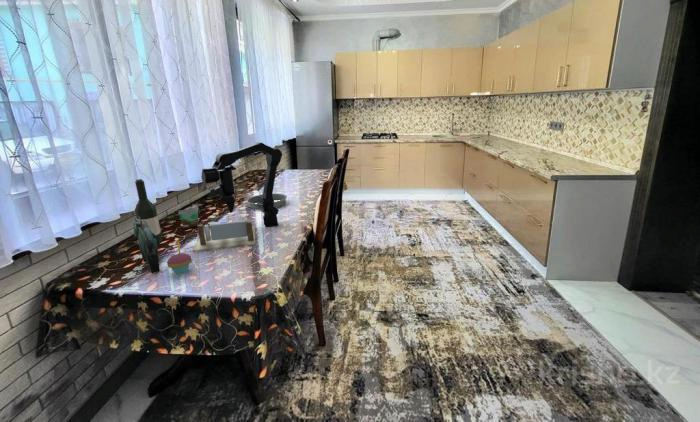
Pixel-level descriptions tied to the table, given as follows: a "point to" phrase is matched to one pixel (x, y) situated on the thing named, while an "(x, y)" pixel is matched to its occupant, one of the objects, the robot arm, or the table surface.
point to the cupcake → (179, 262)
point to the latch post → (249, 230)
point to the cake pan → (275, 197)
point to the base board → (224, 243)
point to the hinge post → (201, 234)
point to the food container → (189, 216)
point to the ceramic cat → (147, 244)
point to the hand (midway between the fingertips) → (231, 212)
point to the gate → (226, 230)
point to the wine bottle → (147, 210)
